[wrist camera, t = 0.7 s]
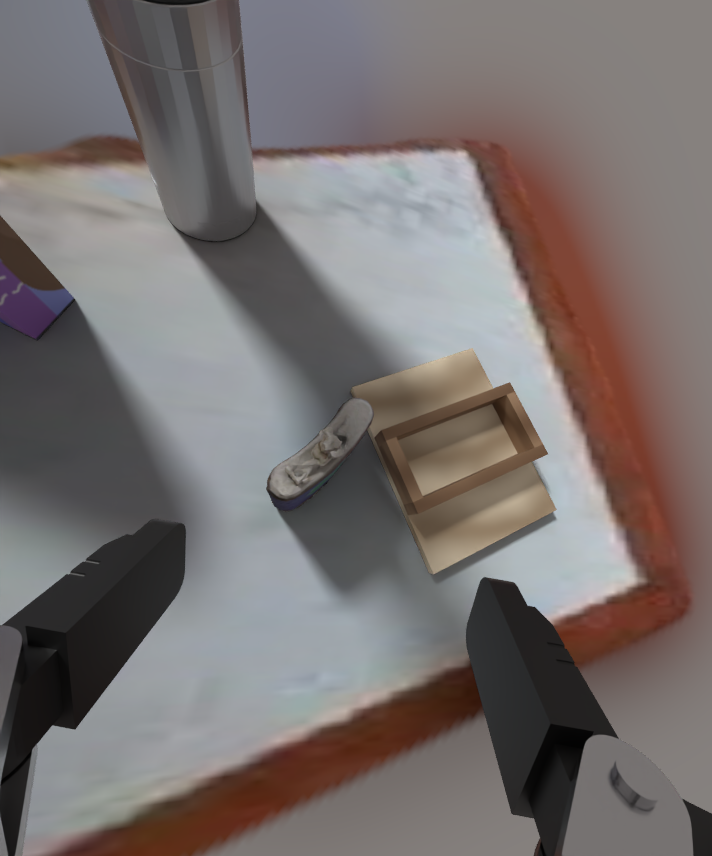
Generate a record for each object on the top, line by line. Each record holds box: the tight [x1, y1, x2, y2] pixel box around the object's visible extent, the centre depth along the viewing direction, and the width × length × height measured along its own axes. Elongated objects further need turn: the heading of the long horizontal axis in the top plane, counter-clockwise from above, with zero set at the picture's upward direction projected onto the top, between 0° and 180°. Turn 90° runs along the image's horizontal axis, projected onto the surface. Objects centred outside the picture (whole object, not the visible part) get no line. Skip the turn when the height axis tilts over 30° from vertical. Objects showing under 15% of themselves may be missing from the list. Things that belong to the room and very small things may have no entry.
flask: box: [266, 397, 374, 512], centre depth 27 cm, size 9×3×11 cm, turn 137°
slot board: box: [350, 348, 556, 574], centre depth 33 cm, size 18×14×4 cm
